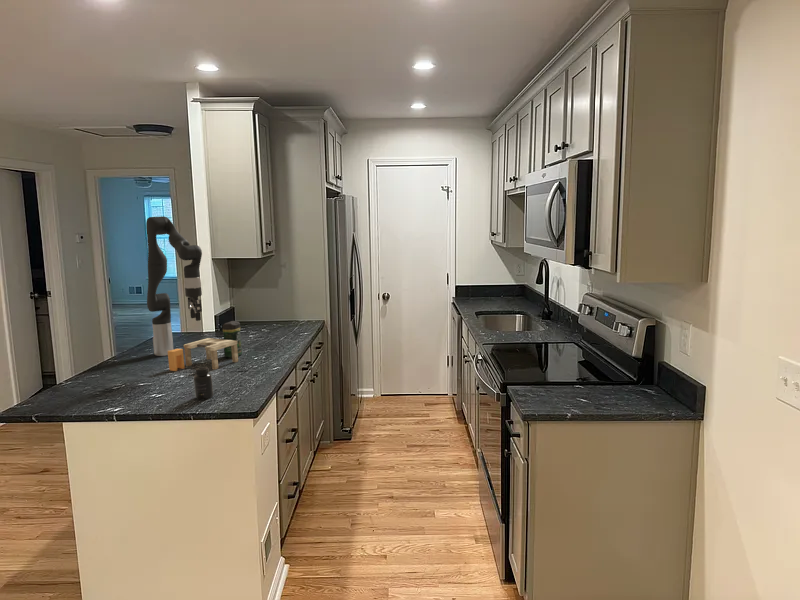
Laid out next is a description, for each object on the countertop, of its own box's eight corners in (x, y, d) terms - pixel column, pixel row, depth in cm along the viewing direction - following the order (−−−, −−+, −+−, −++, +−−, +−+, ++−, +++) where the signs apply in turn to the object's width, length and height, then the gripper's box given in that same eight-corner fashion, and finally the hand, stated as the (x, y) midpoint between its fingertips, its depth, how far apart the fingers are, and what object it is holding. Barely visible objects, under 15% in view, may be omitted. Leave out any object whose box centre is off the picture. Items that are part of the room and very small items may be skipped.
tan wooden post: (169, 370, 258) (167, 351, 257) (178, 367, 263) (177, 348, 262) (175, 371, 257) (173, 351, 255) (184, 368, 262) (182, 349, 260)
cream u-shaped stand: (185, 365, 266) (183, 344, 264) (209, 358, 280) (207, 338, 278) (215, 369, 257) (213, 347, 255) (238, 361, 271) (237, 340, 270)
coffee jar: (236, 358, 278) (233, 323, 275) (222, 358, 279) (219, 323, 276) (244, 353, 287) (242, 319, 284) (231, 353, 289) (228, 319, 286)
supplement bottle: (198, 395, 219) (195, 366, 217) (215, 394, 220) (213, 365, 218) (193, 400, 212) (190, 371, 211) (210, 399, 213) (208, 370, 211)
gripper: (181, 286, 264) (183, 318, 266) (189, 288, 252) (191, 322, 255) (196, 284, 268) (199, 316, 270) (205, 287, 257) (207, 320, 259)
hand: (195, 319), depth 263 cm, fingers open, 8 cm apart
